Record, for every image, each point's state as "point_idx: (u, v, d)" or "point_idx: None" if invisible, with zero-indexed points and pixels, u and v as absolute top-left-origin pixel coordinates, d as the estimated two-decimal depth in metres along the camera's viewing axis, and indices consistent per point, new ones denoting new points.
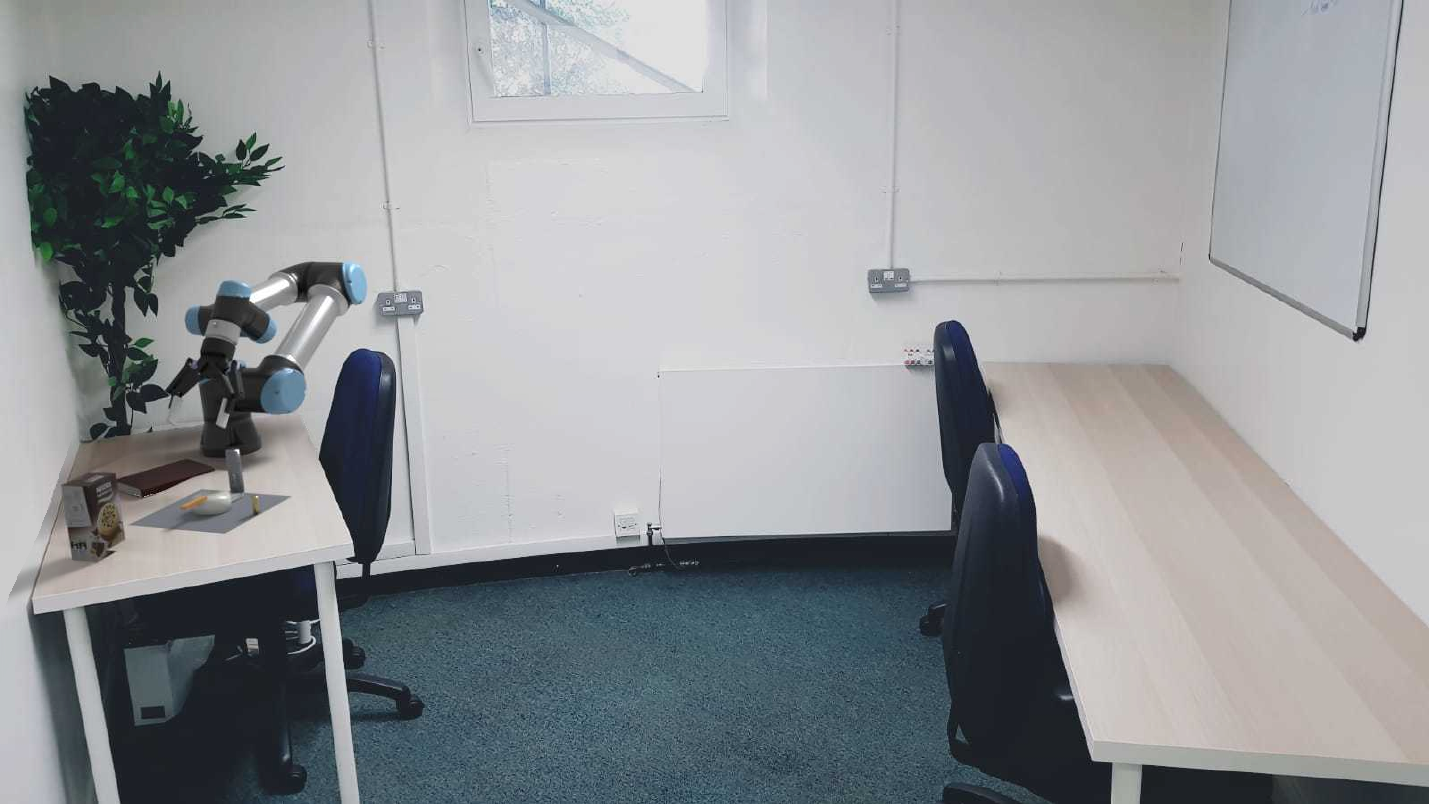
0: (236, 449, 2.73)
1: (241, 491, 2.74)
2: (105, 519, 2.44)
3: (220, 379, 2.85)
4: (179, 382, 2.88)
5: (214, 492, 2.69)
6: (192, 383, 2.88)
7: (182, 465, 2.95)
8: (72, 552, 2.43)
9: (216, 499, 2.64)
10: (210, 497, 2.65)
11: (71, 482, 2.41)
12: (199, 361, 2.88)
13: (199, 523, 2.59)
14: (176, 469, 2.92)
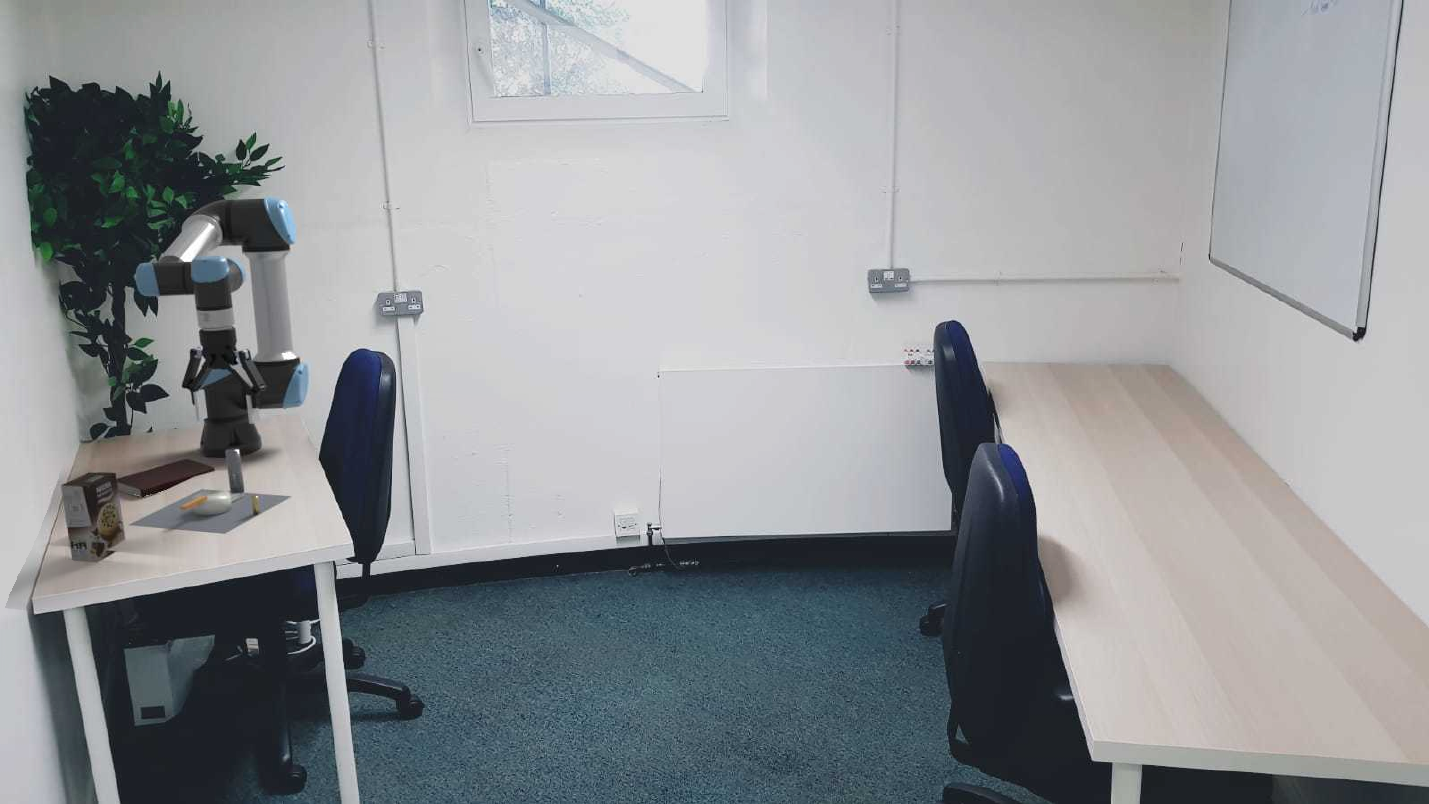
0: (236, 449, 2.73)
1: (241, 491, 2.74)
2: (105, 519, 2.44)
3: (234, 373, 2.66)
4: (192, 374, 2.70)
5: (214, 492, 2.69)
6: (206, 374, 2.69)
7: (182, 465, 2.95)
8: (72, 552, 2.43)
9: (216, 499, 2.64)
10: (210, 497, 2.65)
11: (71, 482, 2.41)
12: (204, 353, 2.66)
13: (199, 523, 2.59)
14: (176, 469, 2.93)
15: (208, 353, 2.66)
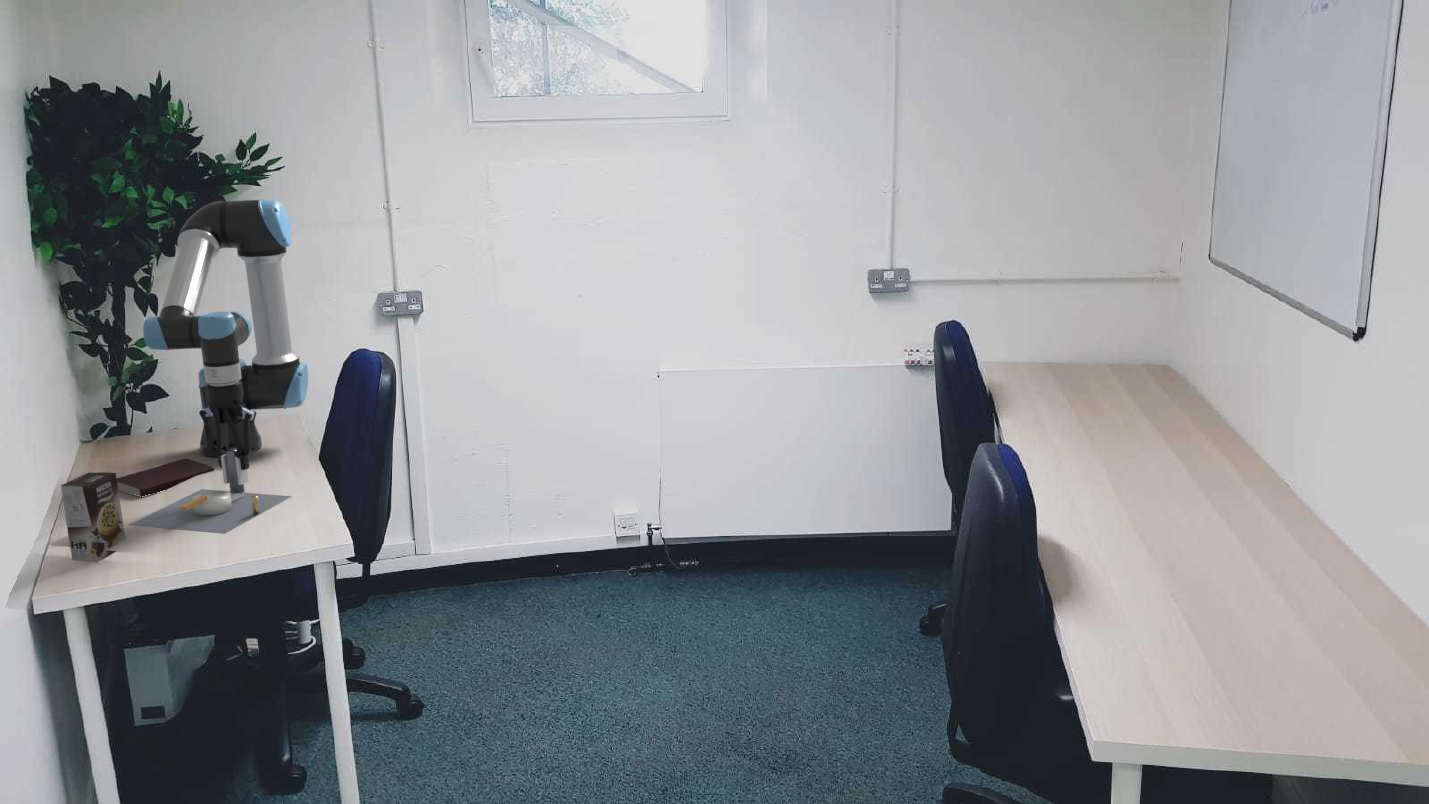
0: None
1: (241, 491, 2.74)
2: (105, 519, 2.44)
3: (233, 431, 2.70)
4: (213, 435, 2.72)
5: (214, 492, 2.69)
6: (225, 432, 2.72)
7: (181, 465, 2.95)
8: (72, 552, 2.43)
9: (216, 499, 2.64)
10: (210, 497, 2.65)
11: (71, 482, 2.41)
12: (211, 407, 2.70)
13: (199, 523, 2.59)
14: (175, 469, 2.93)
15: (214, 405, 2.69)
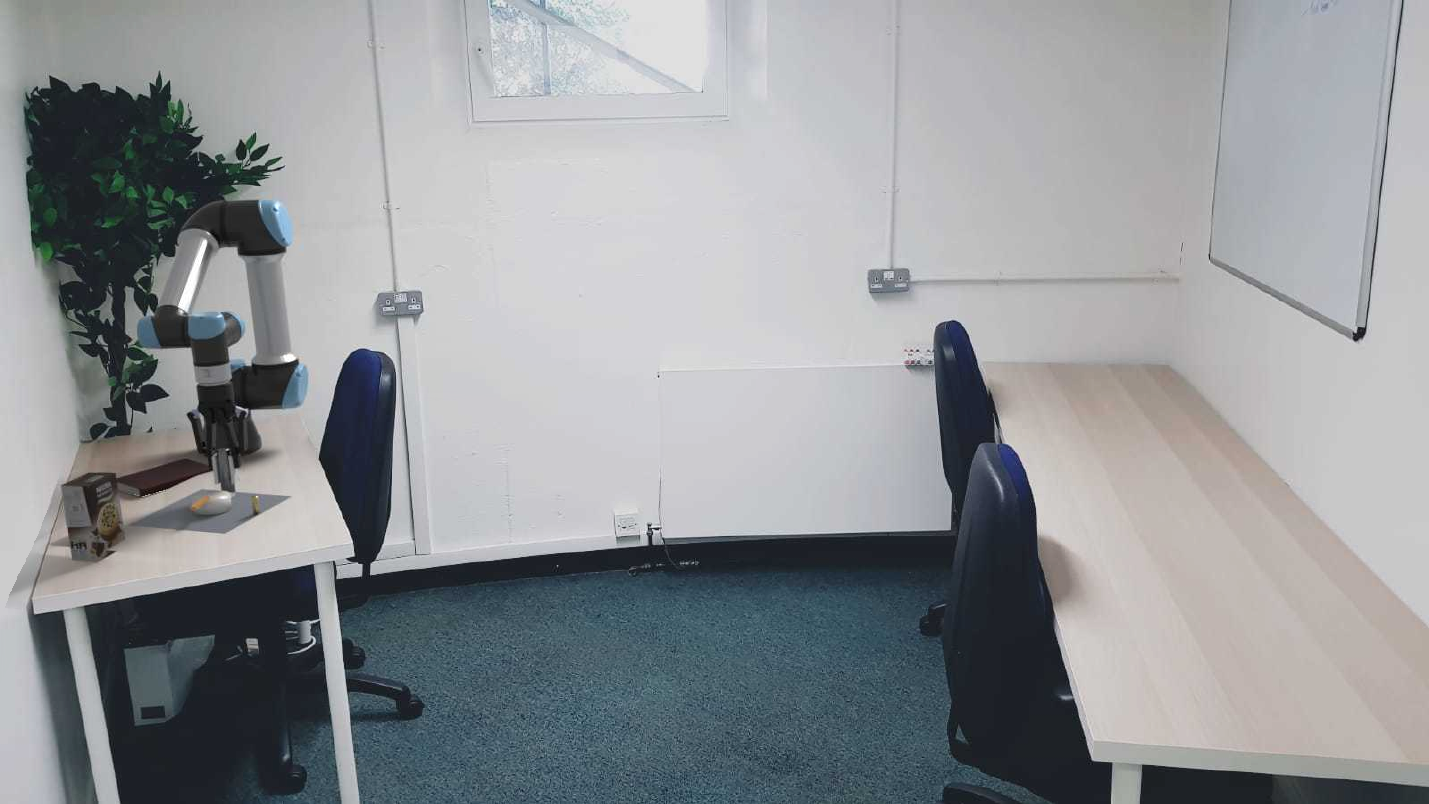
0: (227, 449, 2.73)
1: (233, 490, 2.75)
2: (105, 519, 2.44)
3: (226, 430, 2.70)
4: (201, 437, 2.71)
5: (211, 492, 2.69)
6: (214, 433, 2.72)
7: (181, 465, 2.95)
8: (72, 552, 2.43)
9: (219, 498, 2.65)
10: (211, 497, 2.65)
11: (71, 482, 2.41)
12: (200, 408, 2.69)
13: (199, 523, 2.59)
14: (175, 469, 2.93)
15: (204, 406, 2.69)
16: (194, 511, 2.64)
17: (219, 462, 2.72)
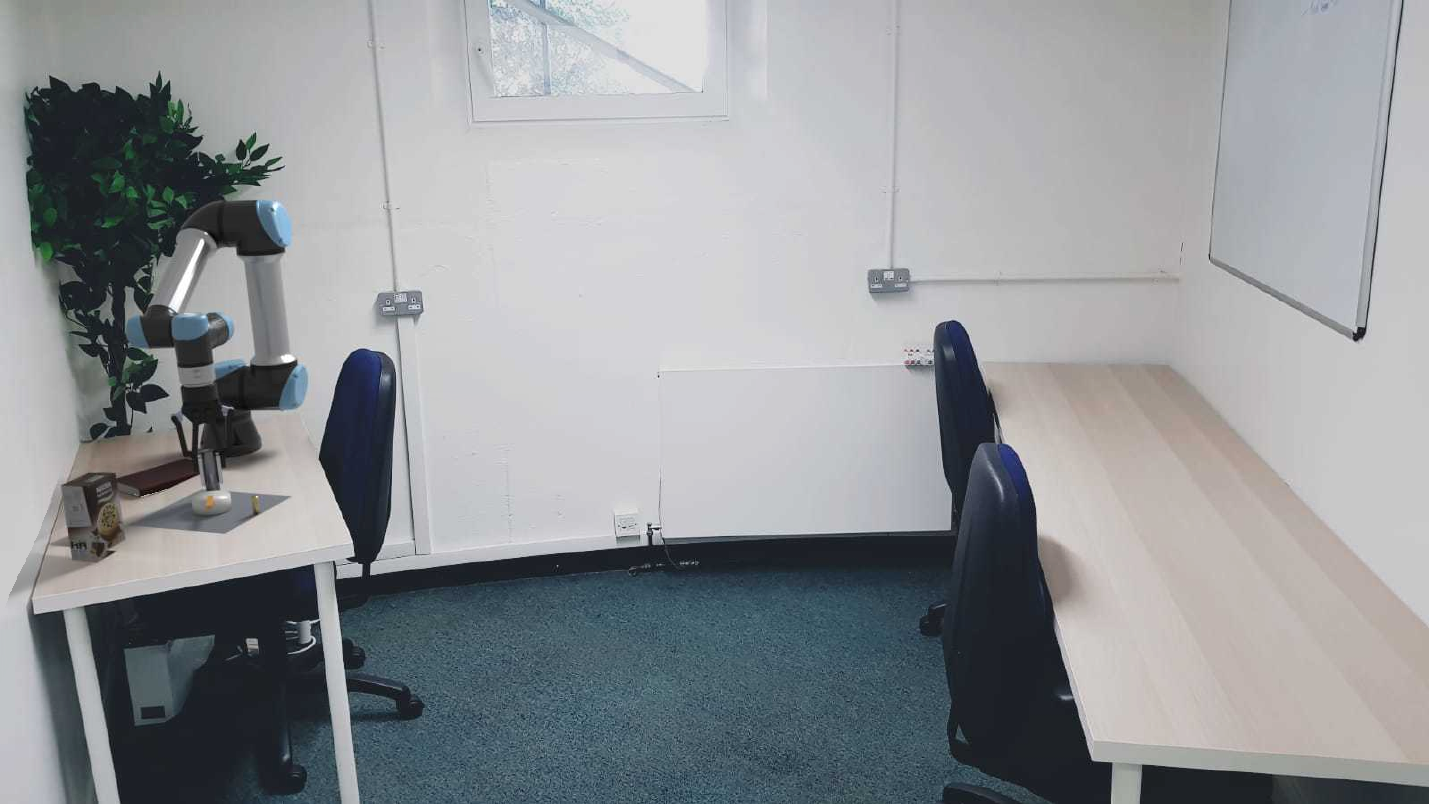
0: (211, 449, 2.73)
1: (219, 490, 2.75)
2: (105, 519, 2.44)
3: (213, 430, 2.71)
4: (185, 440, 2.69)
5: (206, 493, 2.68)
6: None
7: (180, 465, 2.95)
8: (72, 552, 2.43)
9: (223, 497, 2.66)
10: (213, 497, 2.66)
11: (71, 482, 2.41)
12: (186, 411, 2.67)
13: (199, 523, 2.59)
14: (174, 469, 2.93)
15: (190, 408, 2.68)
16: (198, 512, 2.63)
17: (206, 463, 2.71)
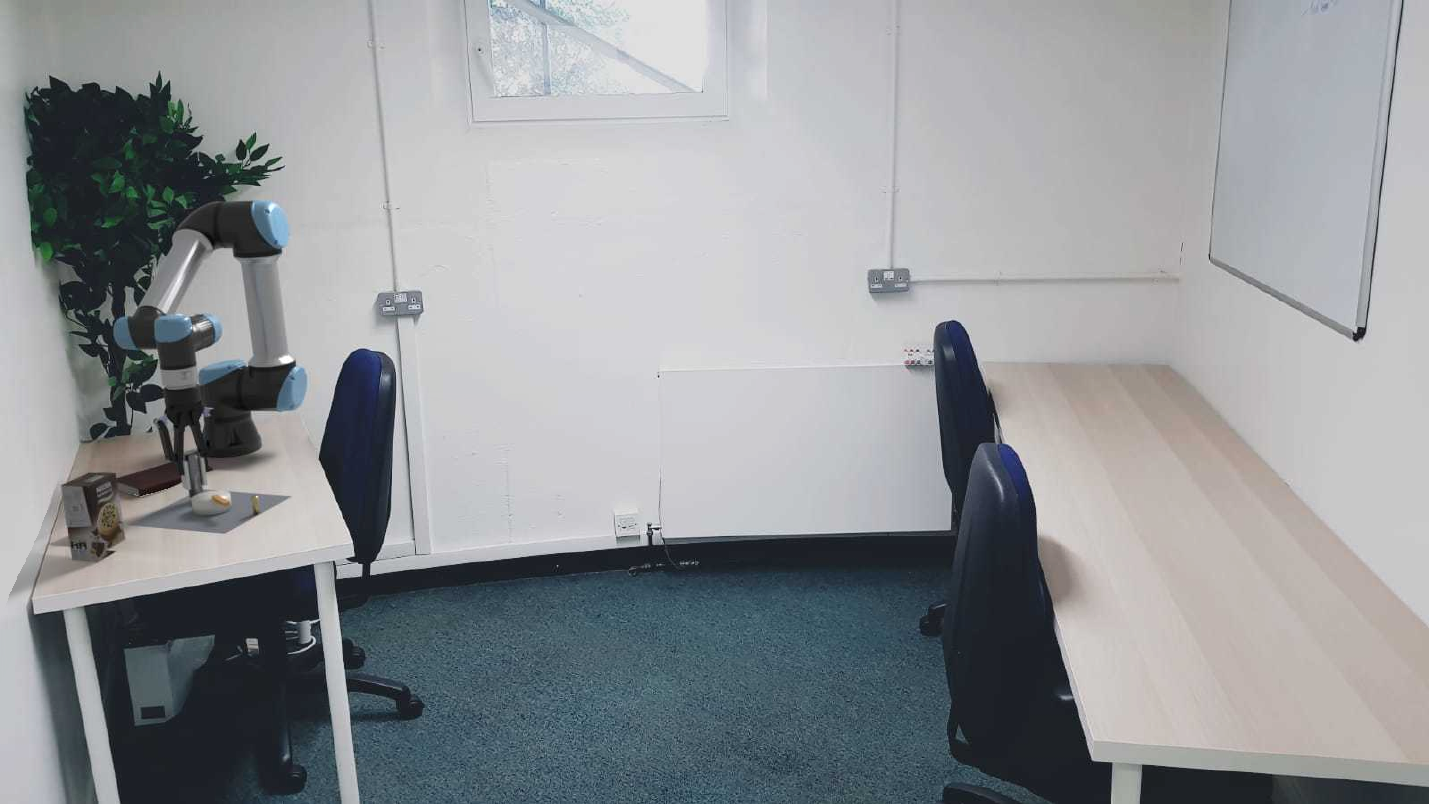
0: (193, 452, 2.71)
1: (203, 493, 2.73)
2: (105, 519, 2.44)
3: (197, 432, 2.69)
4: None
5: (201, 494, 2.67)
6: None
7: None
8: (72, 552, 2.43)
9: (225, 495, 2.67)
10: None
11: (71, 482, 2.41)
12: (172, 414, 2.65)
13: (199, 523, 2.59)
14: (174, 469, 2.93)
15: (176, 411, 2.65)
16: (205, 513, 2.63)
17: (191, 466, 2.70)
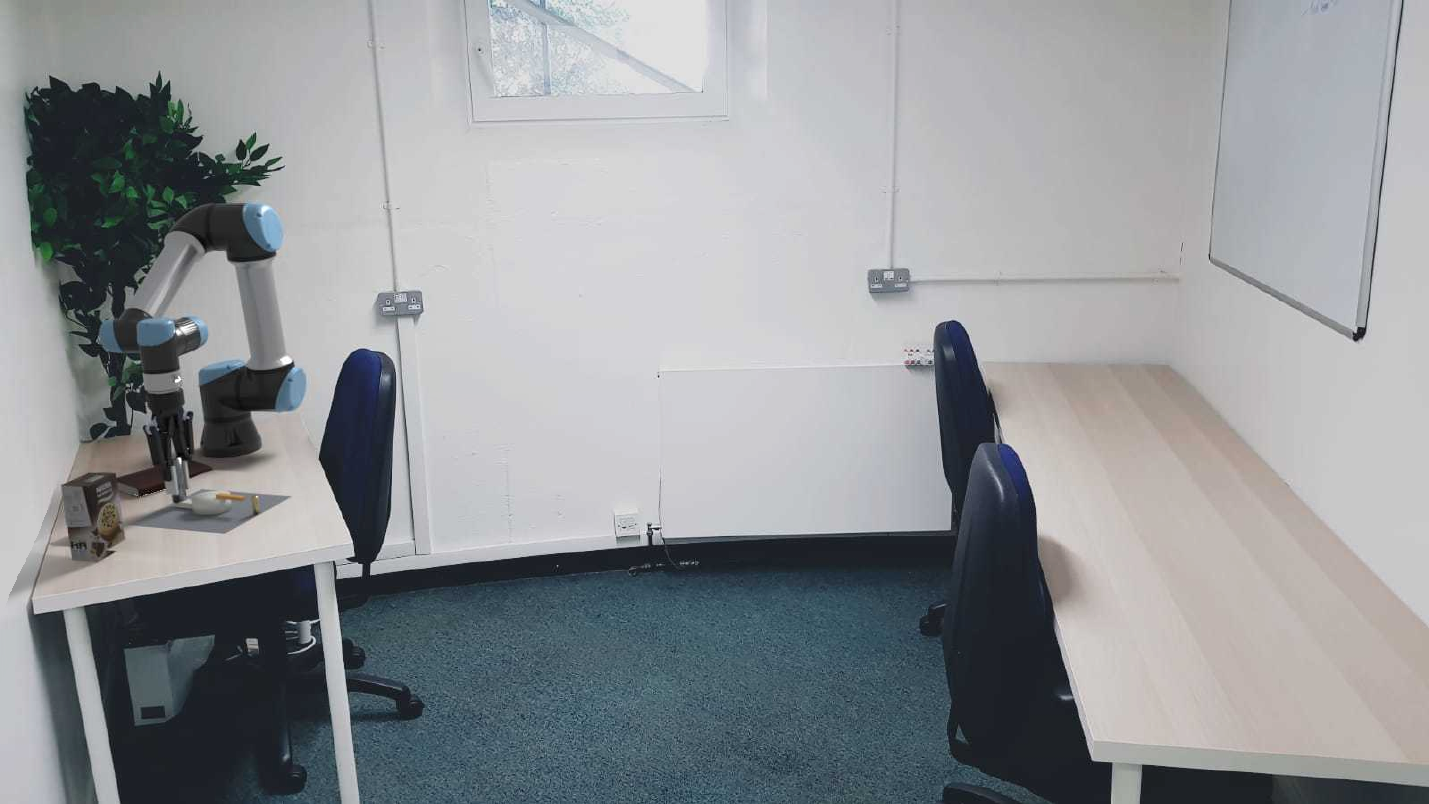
0: (174, 457, 2.68)
1: None
2: (105, 519, 2.44)
3: (181, 435, 2.67)
4: None
5: (197, 496, 2.66)
6: None
7: None
8: (72, 552, 2.43)
9: (224, 493, 2.68)
10: (214, 496, 2.66)
11: (71, 482, 2.41)
12: (161, 419, 2.61)
13: (199, 523, 2.59)
14: None
15: (164, 415, 2.62)
16: (213, 512, 2.63)
17: (178, 470, 2.67)
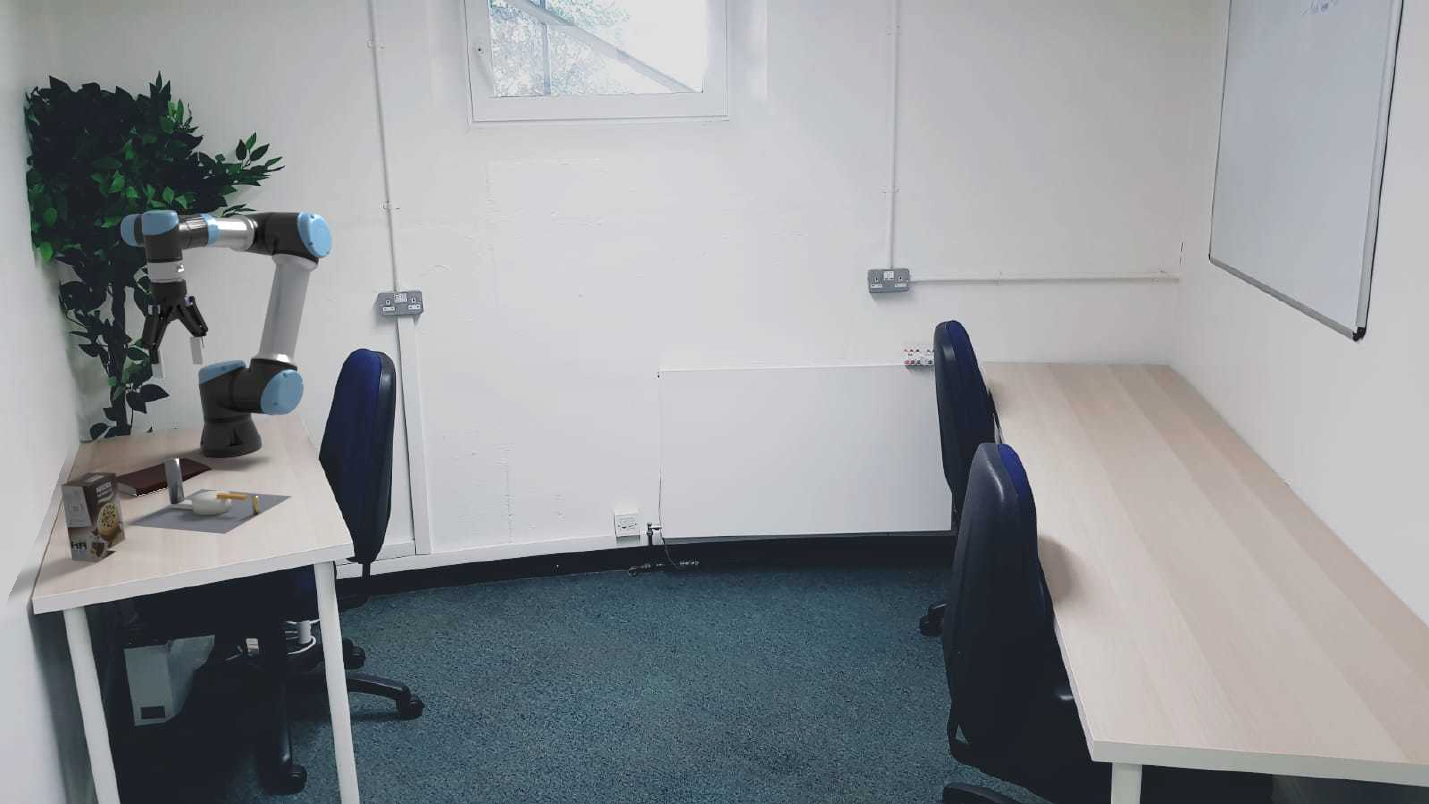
0: (171, 458, 2.67)
1: None
2: (105, 519, 2.44)
3: (189, 319, 2.80)
4: None
5: (197, 497, 2.66)
6: None
7: None
8: (72, 552, 2.43)
9: (224, 493, 2.68)
10: (214, 495, 2.66)
11: (71, 482, 2.41)
12: (165, 306, 2.72)
13: (199, 523, 2.59)
14: None
15: (168, 306, 2.73)
16: (215, 512, 2.63)
17: (176, 471, 2.66)
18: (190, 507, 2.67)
